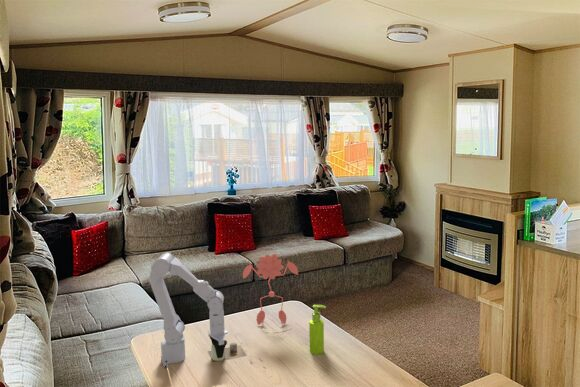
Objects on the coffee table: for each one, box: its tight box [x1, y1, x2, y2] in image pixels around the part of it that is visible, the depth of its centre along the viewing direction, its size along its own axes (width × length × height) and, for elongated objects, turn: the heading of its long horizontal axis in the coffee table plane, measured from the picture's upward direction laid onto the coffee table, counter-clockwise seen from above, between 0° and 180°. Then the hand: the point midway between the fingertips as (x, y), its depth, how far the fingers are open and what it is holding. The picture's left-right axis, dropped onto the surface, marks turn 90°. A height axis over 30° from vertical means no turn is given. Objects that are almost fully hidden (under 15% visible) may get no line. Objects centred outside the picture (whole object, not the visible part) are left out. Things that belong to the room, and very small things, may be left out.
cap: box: [210, 344, 225, 362], centre depth 197 cm, size 5×5×5 cm
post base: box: [207, 342, 247, 363], centre depth 201 cm, size 14×10×4 cm
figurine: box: [242, 253, 299, 334], centre depth 226 cm, size 15×26×35 cm, turn 90°
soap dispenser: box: [308, 304, 327, 355], centre depth 202 cm, size 6×7×20 cm
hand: (218, 354), depth 198 cm, fingers closed on cap, 5 cm apart
